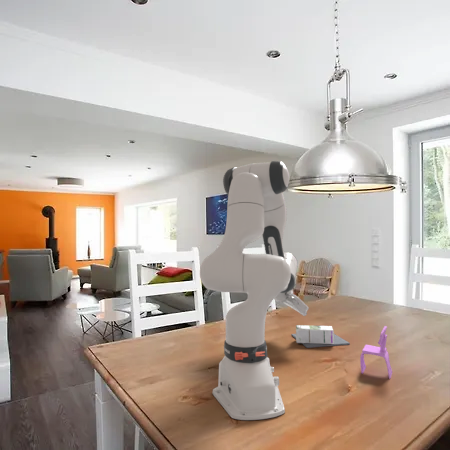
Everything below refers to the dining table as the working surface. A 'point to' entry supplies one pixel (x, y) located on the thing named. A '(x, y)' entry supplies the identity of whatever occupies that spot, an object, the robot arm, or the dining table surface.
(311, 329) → the syrup box
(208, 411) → the dining table surface
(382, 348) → the toy chair
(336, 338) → the slate rubber mat
